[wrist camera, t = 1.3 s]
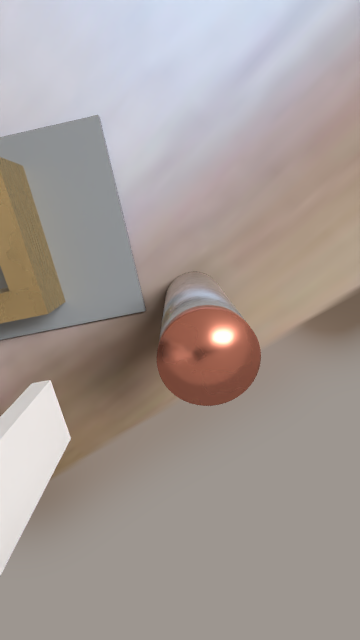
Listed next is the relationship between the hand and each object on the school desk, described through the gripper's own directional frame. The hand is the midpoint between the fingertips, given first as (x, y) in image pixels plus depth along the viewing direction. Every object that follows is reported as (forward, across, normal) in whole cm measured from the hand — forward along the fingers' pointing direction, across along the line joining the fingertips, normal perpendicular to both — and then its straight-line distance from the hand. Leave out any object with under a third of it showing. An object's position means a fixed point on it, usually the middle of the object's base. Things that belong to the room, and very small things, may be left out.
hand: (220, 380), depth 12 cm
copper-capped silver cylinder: (+14, 0, 0) cm, 14 cm away
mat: (+14, -14, +7) cm, 21 cm away
